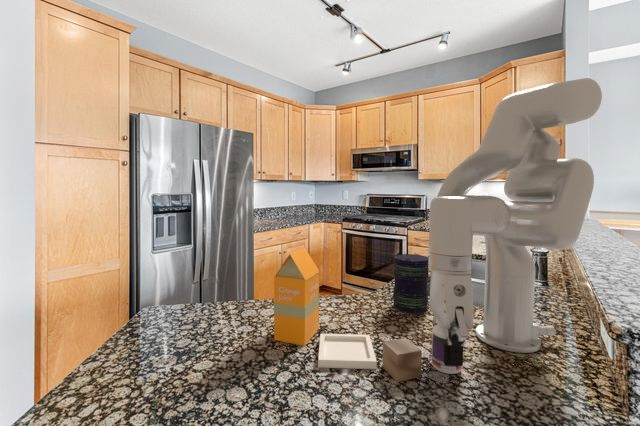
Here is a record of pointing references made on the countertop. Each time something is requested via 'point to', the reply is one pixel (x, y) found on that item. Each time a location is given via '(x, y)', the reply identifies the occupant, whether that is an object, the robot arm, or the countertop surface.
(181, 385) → the countertop surface
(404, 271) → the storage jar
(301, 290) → the orange juice
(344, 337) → the tray
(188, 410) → the countertop surface
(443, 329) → the pill bottle
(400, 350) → the walnut block
